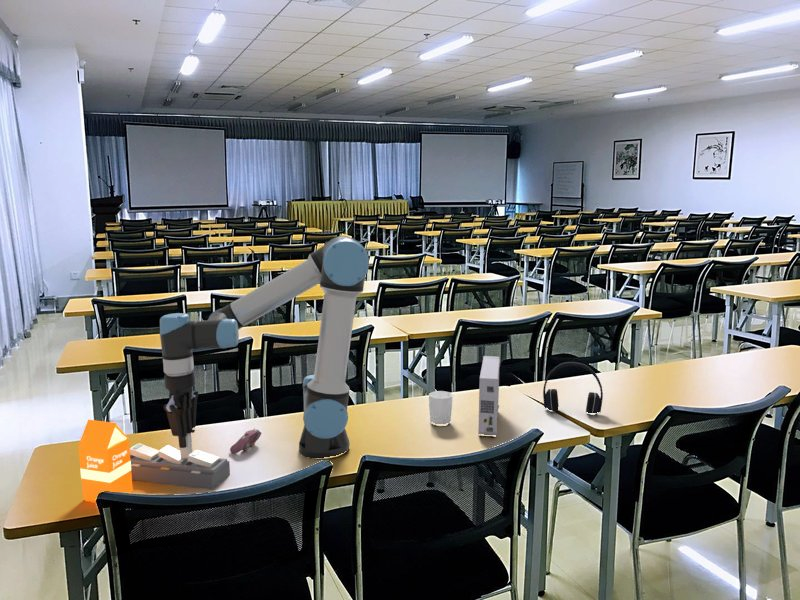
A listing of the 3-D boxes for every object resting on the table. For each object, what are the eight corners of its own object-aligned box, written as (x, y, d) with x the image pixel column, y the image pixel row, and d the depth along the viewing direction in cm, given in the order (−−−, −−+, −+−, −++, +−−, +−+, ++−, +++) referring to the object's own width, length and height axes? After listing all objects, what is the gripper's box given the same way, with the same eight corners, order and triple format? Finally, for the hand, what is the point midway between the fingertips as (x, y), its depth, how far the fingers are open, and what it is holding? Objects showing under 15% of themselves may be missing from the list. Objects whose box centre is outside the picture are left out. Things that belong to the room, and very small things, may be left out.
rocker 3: (218, 462, 170) (219, 456, 169) (210, 468, 166) (211, 462, 166) (195, 454, 171) (196, 448, 171) (187, 460, 167) (188, 454, 167)
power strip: (230, 474, 172) (229, 457, 172) (212, 489, 164) (211, 471, 163) (140, 464, 179) (139, 447, 178) (119, 478, 170) (118, 460, 170)
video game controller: (239, 460, 186) (248, 441, 183) (227, 452, 187) (235, 433, 184) (258, 447, 195) (266, 429, 193) (246, 439, 196) (254, 421, 194)
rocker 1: (159, 456, 174) (160, 450, 174) (150, 462, 170) (151, 456, 170) (137, 448, 175) (138, 442, 175) (128, 453, 171) (129, 448, 171)
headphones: (541, 413, 221) (543, 363, 218) (543, 407, 227) (545, 358, 224) (601, 419, 215) (604, 367, 212) (601, 412, 222) (604, 362, 219)
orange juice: (105, 487, 165) (99, 414, 162) (133, 491, 163) (127, 417, 159) (82, 500, 158) (75, 424, 155) (111, 505, 155) (105, 428, 152)
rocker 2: (188, 460, 172) (189, 455, 172) (179, 466, 168) (181, 461, 168) (166, 449, 173) (168, 444, 173) (157, 455, 169) (159, 450, 169)
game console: (498, 411, 223) (500, 356, 220) (496, 440, 197) (498, 378, 193) (482, 410, 224) (483, 355, 221) (478, 439, 198) (479, 378, 194)
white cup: (457, 424, 210) (457, 395, 208) (438, 429, 206) (438, 400, 204) (442, 417, 217) (442, 389, 215) (423, 422, 212) (424, 393, 211)
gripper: (180, 365, 173) (187, 446, 177) (151, 378, 160) (159, 466, 164) (205, 366, 171) (211, 448, 175) (177, 380, 158) (185, 468, 162)
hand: (186, 457), depth 169 cm, fingers closed
